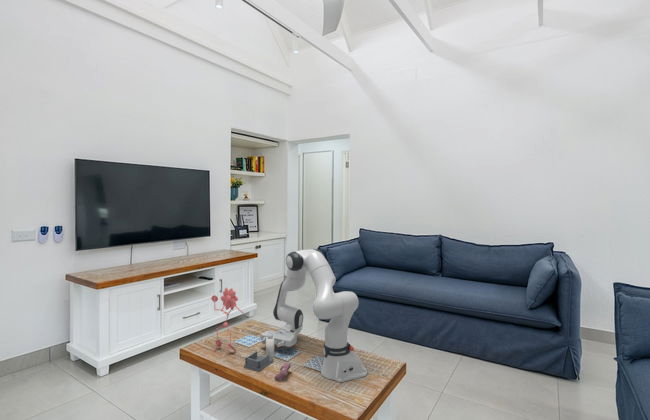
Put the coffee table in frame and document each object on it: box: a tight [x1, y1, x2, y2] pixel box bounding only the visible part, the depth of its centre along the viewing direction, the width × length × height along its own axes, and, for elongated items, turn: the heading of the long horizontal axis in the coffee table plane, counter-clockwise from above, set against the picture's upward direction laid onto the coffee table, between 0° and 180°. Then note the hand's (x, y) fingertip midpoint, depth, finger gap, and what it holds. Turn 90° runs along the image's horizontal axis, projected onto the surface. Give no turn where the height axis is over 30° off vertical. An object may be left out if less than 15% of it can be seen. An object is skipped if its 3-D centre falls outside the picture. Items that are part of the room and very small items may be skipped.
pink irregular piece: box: [274, 361, 292, 381], centre depth 155 cm, size 10×5×7 cm, turn 169°
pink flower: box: [211, 287, 245, 359], centre depth 183 cm, size 15×26×35 cm, turn 59°
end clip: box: [243, 351, 275, 373], centre depth 166 cm, size 12×10×5 cm
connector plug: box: [265, 333, 275, 359], centre depth 175 cm, size 4×4×12 cm
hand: (269, 343), depth 174 cm, fingers open, 8 cm apart
